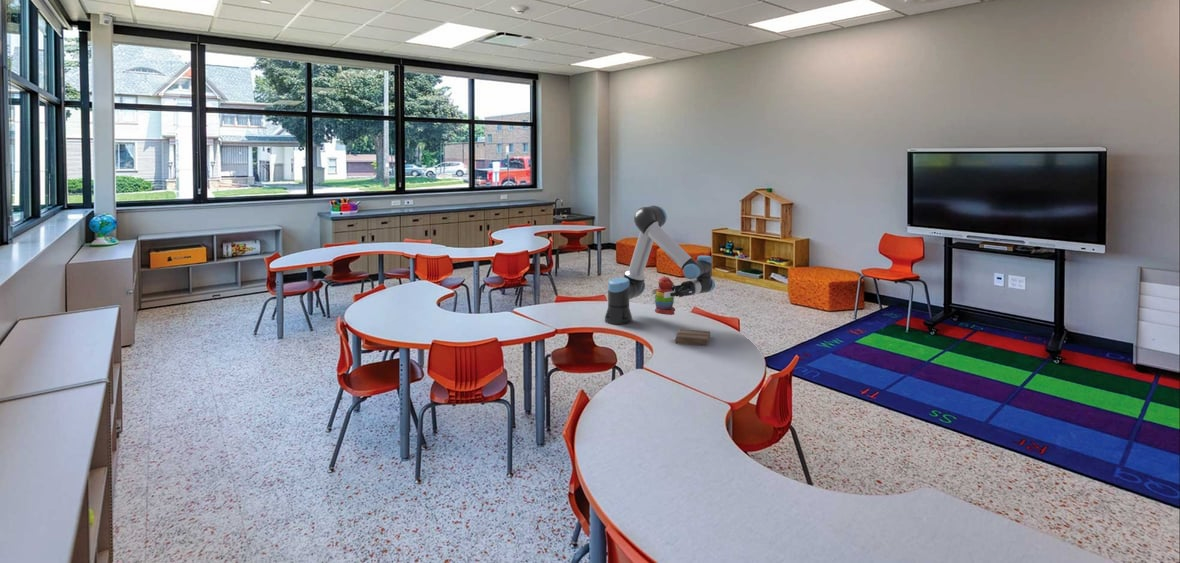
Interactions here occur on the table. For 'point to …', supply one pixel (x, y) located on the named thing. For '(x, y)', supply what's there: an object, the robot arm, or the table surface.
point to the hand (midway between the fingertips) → (658, 293)
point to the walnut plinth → (693, 337)
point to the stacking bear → (664, 303)
